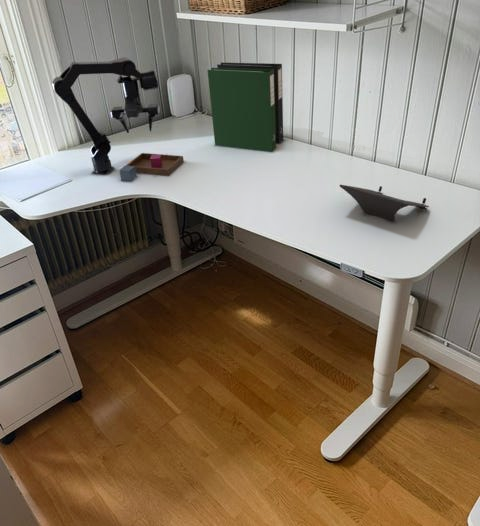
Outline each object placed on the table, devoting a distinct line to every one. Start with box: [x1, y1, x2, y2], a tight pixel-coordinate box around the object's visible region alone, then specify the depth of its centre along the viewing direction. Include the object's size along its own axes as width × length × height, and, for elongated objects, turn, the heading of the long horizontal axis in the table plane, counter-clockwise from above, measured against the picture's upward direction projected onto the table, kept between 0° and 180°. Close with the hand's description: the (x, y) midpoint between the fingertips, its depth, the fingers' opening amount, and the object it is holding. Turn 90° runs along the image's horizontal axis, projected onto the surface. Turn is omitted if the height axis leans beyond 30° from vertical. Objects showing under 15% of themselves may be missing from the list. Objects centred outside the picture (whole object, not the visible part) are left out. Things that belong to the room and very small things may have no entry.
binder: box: [206, 62, 284, 153], centre depth 206 cm, size 27×15×32 cm, turn 66°
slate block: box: [118, 164, 138, 182], centre depth 191 cm, size 4×4×4 cm
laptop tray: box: [339, 184, 430, 223], centre depth 154 cm, size 23×23×9 cm
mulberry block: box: [150, 153, 163, 168], centre depth 198 cm, size 4×4×4 cm
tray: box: [126, 152, 185, 177], centre depth 199 cm, size 19×14×3 cm
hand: (139, 131), depth 198 cm, fingers open, 9 cm apart
